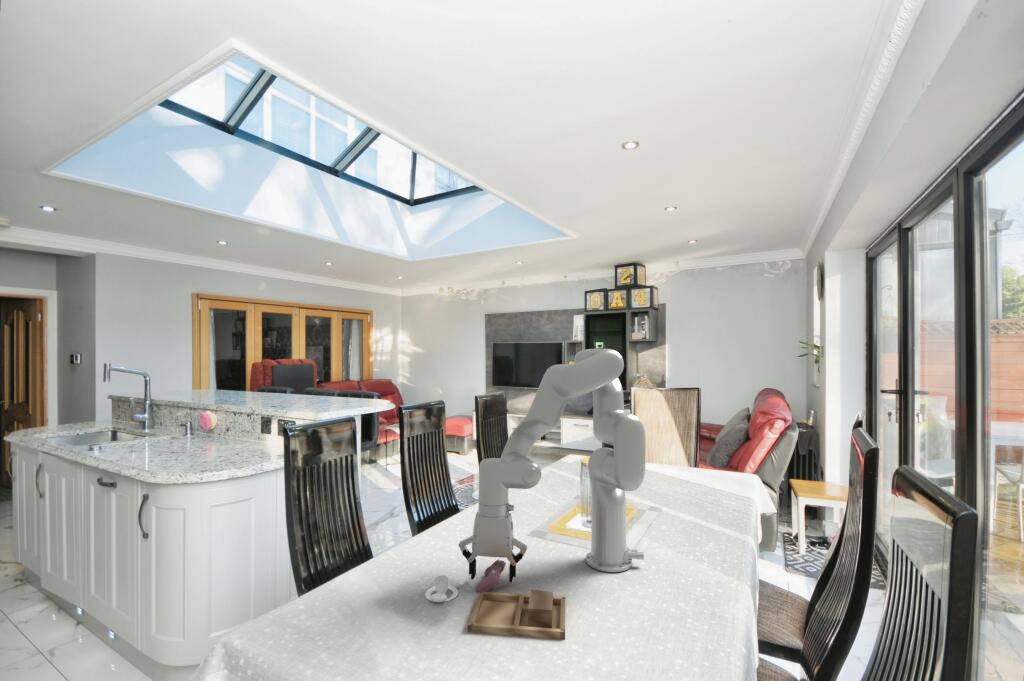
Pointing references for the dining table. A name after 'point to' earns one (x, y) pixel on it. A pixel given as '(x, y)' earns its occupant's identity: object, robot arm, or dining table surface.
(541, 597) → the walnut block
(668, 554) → the dining table surface
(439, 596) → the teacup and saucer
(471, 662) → the dining table surface
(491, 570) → the video game controller
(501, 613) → the oak organiser tray
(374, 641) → the dining table surface
